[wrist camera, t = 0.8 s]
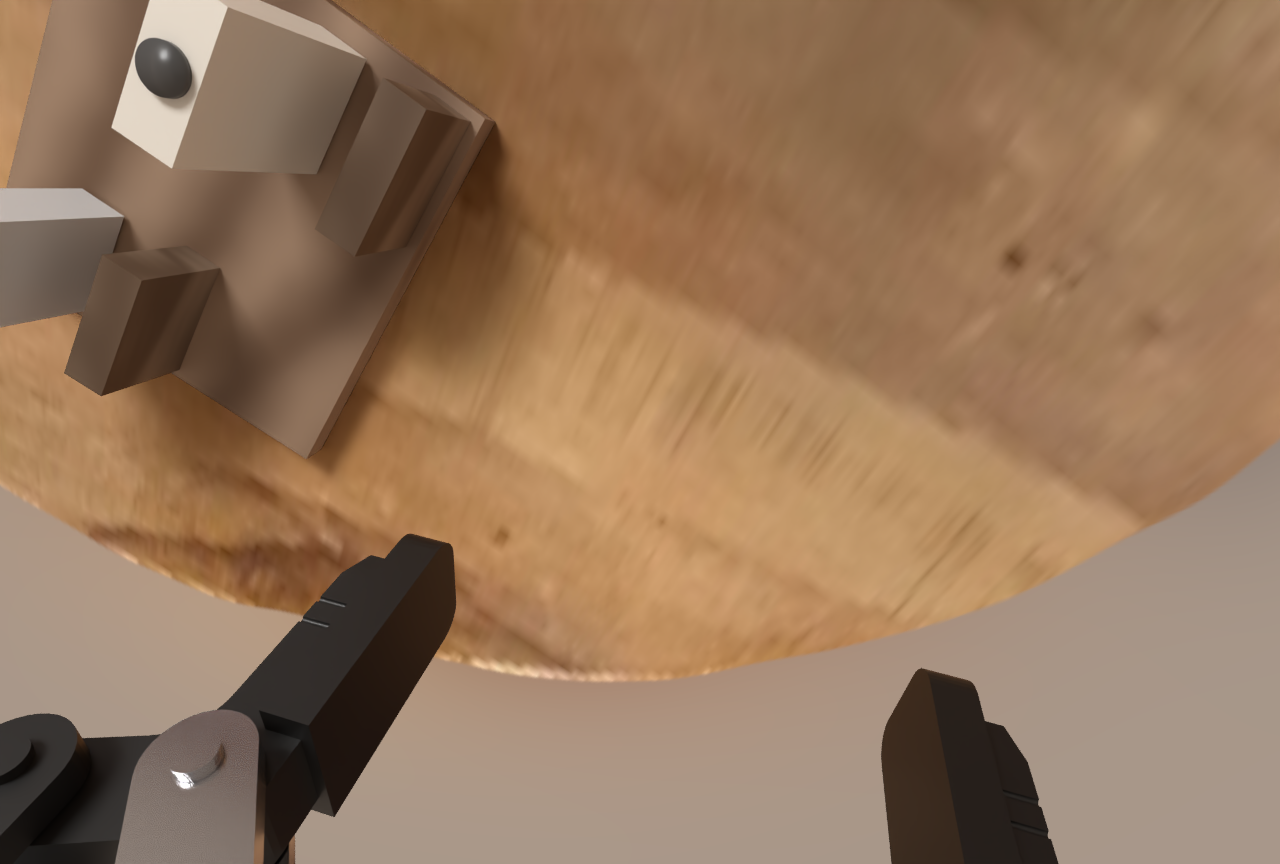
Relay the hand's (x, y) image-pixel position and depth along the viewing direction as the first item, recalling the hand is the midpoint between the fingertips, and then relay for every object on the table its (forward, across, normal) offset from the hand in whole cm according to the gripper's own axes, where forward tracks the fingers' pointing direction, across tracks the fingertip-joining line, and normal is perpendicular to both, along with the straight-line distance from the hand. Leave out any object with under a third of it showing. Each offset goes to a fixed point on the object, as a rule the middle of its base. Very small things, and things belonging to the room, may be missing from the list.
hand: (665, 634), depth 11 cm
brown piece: (+22, +29, +1) cm, 36 cm away
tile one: (+22, +22, -4) cm, 31 cm away
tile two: (+19, +35, +5) cm, 40 cm away
